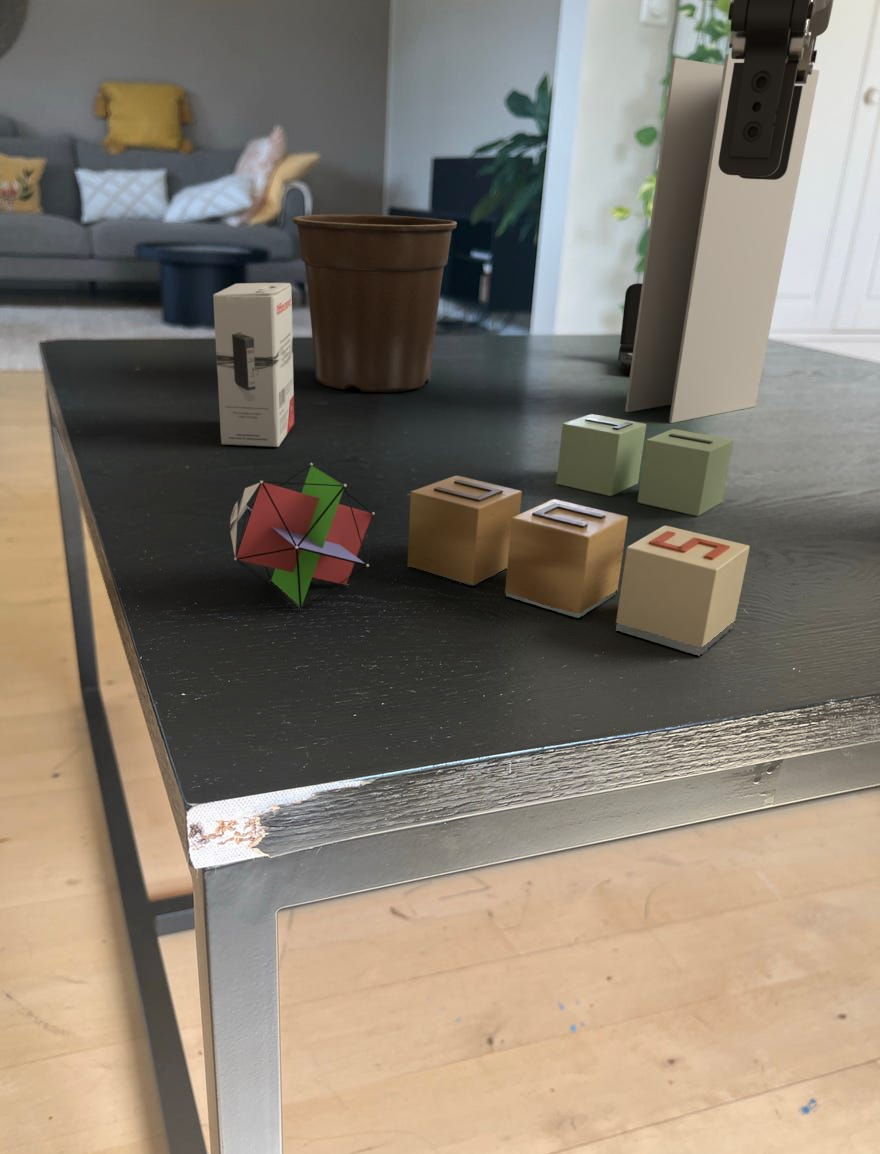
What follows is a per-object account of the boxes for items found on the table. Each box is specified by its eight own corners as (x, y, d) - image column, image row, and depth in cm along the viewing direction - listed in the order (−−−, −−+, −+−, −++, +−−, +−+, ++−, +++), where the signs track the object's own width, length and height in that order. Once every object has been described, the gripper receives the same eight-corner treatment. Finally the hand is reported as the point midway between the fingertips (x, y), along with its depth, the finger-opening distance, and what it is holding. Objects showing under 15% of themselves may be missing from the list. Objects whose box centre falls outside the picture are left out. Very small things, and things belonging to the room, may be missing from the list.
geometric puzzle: (367, 522, 57) (287, 417, 52) (426, 561, 51) (343, 448, 46) (275, 607, 56) (185, 509, 51) (325, 656, 50) (230, 552, 46)
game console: (618, 375, 114) (629, 293, 110) (616, 357, 126) (626, 282, 122) (757, 385, 112) (773, 301, 108) (742, 365, 124) (755, 289, 120)
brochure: (709, 396, 105) (765, 73, 92) (755, 406, 101) (819, 70, 88) (625, 411, 97) (672, 58, 84) (671, 422, 93) (728, 54, 80)
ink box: (239, 421, 87) (235, 279, 82) (295, 424, 87) (294, 282, 82) (217, 445, 79) (211, 290, 74) (279, 448, 79) (276, 293, 74)
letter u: (503, 597, 53) (511, 515, 51) (545, 574, 56) (553, 496, 54) (578, 620, 50) (589, 535, 49) (617, 595, 54) (629, 514, 52)
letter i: (637, 502, 69) (646, 437, 67) (663, 489, 73) (673, 426, 71) (698, 516, 67) (709, 449, 65) (722, 502, 70) (734, 438, 68)
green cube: (555, 484, 73) (562, 421, 71) (584, 471, 76) (591, 412, 74) (611, 496, 70) (619, 432, 68) (638, 483, 74) (647, 422, 72)
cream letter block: (614, 631, 49) (626, 544, 47) (651, 604, 53) (664, 522, 51) (700, 658, 47) (717, 567, 45) (733, 628, 50) (751, 543, 48)
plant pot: (349, 404, 95) (352, 222, 88) (266, 375, 106) (263, 212, 99) (478, 389, 104) (490, 223, 97) (389, 364, 115) (394, 214, 108)
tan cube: (406, 567, 56) (410, 489, 54) (451, 547, 60) (456, 472, 58) (472, 587, 54) (478, 506, 52) (515, 565, 57) (522, 488, 55)
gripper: (994, -471, 27) (854, 180, 34) (942, -267, 39) (846, 183, 46) (713, -430, 29) (635, 171, 36) (746, -249, 41) (683, 176, 48)
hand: (753, 177), depth 41 cm, fingers open, 8 cm apart
